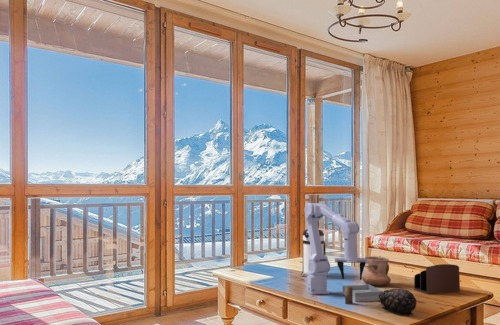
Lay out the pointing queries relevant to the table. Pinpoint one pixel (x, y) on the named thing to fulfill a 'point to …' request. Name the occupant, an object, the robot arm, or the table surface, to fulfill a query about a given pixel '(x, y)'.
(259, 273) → the table surface
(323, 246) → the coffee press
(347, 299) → the walnut peg
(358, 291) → the slate box
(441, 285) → the letter holder
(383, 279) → the ceramic jug
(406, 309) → the pine cone
